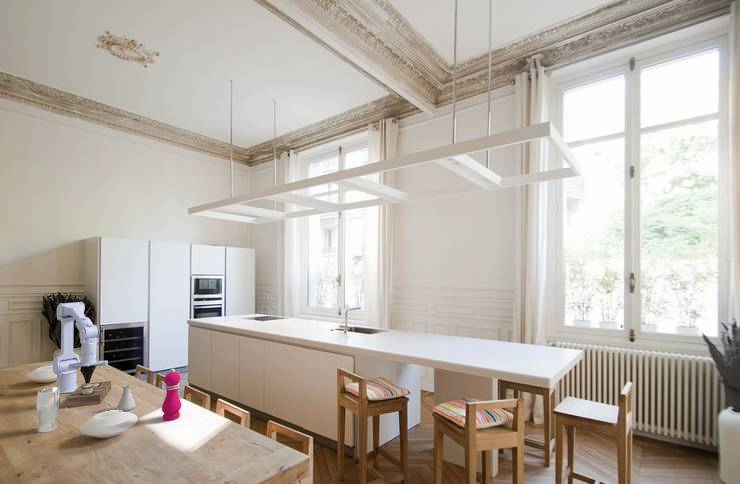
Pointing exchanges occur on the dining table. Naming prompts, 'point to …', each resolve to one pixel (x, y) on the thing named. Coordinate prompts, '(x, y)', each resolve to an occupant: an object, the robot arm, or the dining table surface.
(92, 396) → the walnut block
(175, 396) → the pepper mill
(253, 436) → the dining table surface
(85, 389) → the birch peg outer
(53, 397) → the beer glass
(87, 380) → the robot arm
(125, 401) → the flask
